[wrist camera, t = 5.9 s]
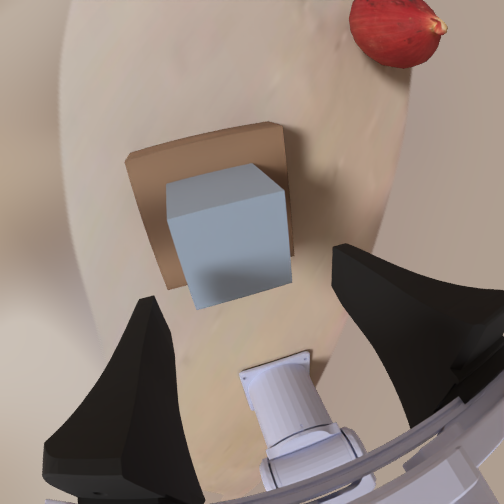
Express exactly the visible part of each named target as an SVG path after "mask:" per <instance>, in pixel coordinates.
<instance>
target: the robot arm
mask: <svg viewBox="0 0 504 504" xmlns="http://www.w3.org/2000/svg"><path fill="white" fill-rule="evenodd" d="M331 286H332V288H333V290H334V292H335V293H336V295H337V297H338V299H339V301H340V302H341V304H342V306H343V307H344V308H345V310H346V311H347V312H348V314H349V315H350V316H351V318H352V319H353V320H354V322H355V323H356V324H357V325H358V327H359V328H360V330H361V331H362V332H363V333H364V335H365V336H366V338H367V339H368V340H369V342H370V343H371V345H372V346H373V348H374V349H375V351H376V353H377V354H378V356H379V358H380V360H381V361H382V363H383V365H384V367H385V369H386V371H387V373H388V375H389V377H390V379H391V381H392V383H393V385H394V387H395V389H396V392H397V394H398V396H399V399H400V401H401V403H402V406H403V408H404V411H405V414H406V417H407V420H408V423H409V426H410V428H411V429H410V430H408V431H407V432H405V433H403V434H402V435H400V436H398V437H397V438H395V439H393V440H391V441H389V442H388V443H386V444H384V445H382V446H380V447H378V448H376V449H374V450H373V451H371V452H369V453H367V452H366V449H365V448H364V445H363V443H362V442H361V440H360V438H359V437H358V435H357V434H356V433H355V431H353V430H352V429H349V428H347V427H343V428H341V429H340V428H339V426H338V424H337V423H336V422H335V423H333V422H332V420H331V418H330V416H329V414H328V412H327V410H326V408H325V406H324V404H323V402H322V400H321V398H320V396H319V394H318V392H317V390H316V388H315V386H314V384H313V382H312V380H311V378H310V376H309V372H310V353H309V352H308V351H304V352H301V353H298V354H295V355H292V356H290V357H287V358H283V359H280V360H277V361H274V362H271V363H268V364H265V365H261V366H258V367H255V368H251V369H248V370H244V371H241V372H240V373H239V376H240V379H241V382H242V385H243V388H244V391H245V394H246V397H247V400H248V403H249V406H250V409H251V410H252V411H254V410H255V413H256V416H257V419H258V422H259V425H260V427H261V430H262V433H263V436H264V439H265V442H266V444H267V447H268V449H266V453H267V456H268V457H267V458H264V459H262V462H261V464H260V474H261V478H262V481H263V484H264V486H265V489H266V491H267V492H263V493H259V494H255V495H251V496H247V497H242V498H238V499H233V500H228V501H223V502H217V503H212V504H299V503H302V502H305V501H308V500H310V499H313V498H316V497H318V496H321V495H324V494H326V493H329V492H331V491H333V490H336V489H338V488H340V487H343V486H345V485H348V484H349V483H352V482H353V483H352V484H351V485H349V486H348V487H346V488H344V489H342V490H339V491H337V492H334V493H332V494H330V495H328V496H325V497H323V498H320V499H317V500H314V501H312V502H309V503H306V504H499V503H498V501H497V499H496V497H495V496H494V494H493V492H492V490H491V489H490V487H489V485H488V484H487V482H486V480H485V479H484V477H483V476H482V474H481V472H480V471H479V469H478V467H479V466H480V465H481V464H482V463H483V461H485V460H486V459H487V458H488V456H489V455H490V454H491V453H492V452H493V451H494V450H495V449H496V448H497V447H498V446H499V444H500V443H501V442H502V441H503V440H504V336H503V333H504V290H494V289H480V288H473V287H466V286H460V285H455V284H451V283H447V282H442V281H439V280H435V279H432V278H429V277H426V276H423V275H420V274H417V273H414V272H412V271H409V270H407V269H404V268H401V267H399V266H397V265H394V264H392V263H390V262H387V261H385V260H383V259H381V258H378V257H376V256H374V255H372V254H370V253H368V252H365V251H363V250H361V249H359V248H357V247H354V246H352V245H349V244H346V243H345V244H341V245H338V246H334V247H333V256H332V285H331ZM437 433H438V435H437V437H436V438H434V439H433V440H432V441H430V442H429V443H428V444H427V445H425V446H424V447H422V448H421V449H420V450H419V452H418V453H417V454H415V455H414V456H413V457H412V458H411V459H409V460H408V461H407V462H405V463H404V464H403V468H404V469H405V471H406V473H404V474H403V475H401V476H399V477H397V478H396V479H394V480H392V481H390V482H388V483H387V484H385V485H383V486H381V487H379V488H377V489H375V490H374V488H375V486H376V483H375V481H376V478H375V475H374V473H373V472H375V471H377V470H378V469H380V468H382V467H384V466H386V465H388V464H390V463H391V462H393V461H395V460H397V459H398V458H400V457H402V456H403V455H405V454H407V453H408V452H410V451H412V450H413V449H415V448H416V447H418V446H420V445H421V444H423V443H424V442H426V441H427V440H428V439H430V438H432V437H433V436H434V435H436V434H437ZM42 476H43V479H44V480H45V481H46V482H47V483H49V484H50V485H52V486H54V487H56V488H58V489H60V490H62V491H64V492H66V493H69V494H71V495H74V496H76V497H78V504H204V502H205V498H204V495H203V492H202V490H201V487H200V484H199V482H198V479H197V476H196V473H195V470H194V467H193V463H192V460H191V457H190V453H189V450H188V446H187V442H186V438H185V434H184V430H183V426H182V421H181V417H180V411H179V404H178V394H177V380H176V366H175V353H174V347H173V342H172V336H171V332H170V329H169V327H168V325H167V323H166V321H165V319H164V317H163V314H162V312H161V310H160V308H159V305H158V303H157V301H156V299H155V296H150V297H146V298H142V299H139V301H138V303H137V305H136V307H135V309H134V311H133V313H132V316H131V318H130V320H129V322H128V325H127V327H126V329H125V331H124V333H123V335H122V337H121V340H120V342H119V344H118V346H117V348H116V350H115V351H114V353H113V355H112V357H111V359H110V361H109V363H108V365H107V366H106V368H105V370H104V371H103V373H102V375H101V376H100V378H99V379H98V381H97V382H96V384H95V385H94V387H93V388H92V390H91V391H90V392H89V394H88V395H87V396H86V398H85V399H84V400H83V402H82V403H81V405H80V406H79V407H78V408H77V409H76V410H75V412H74V413H73V414H72V415H71V416H70V417H69V419H68V420H67V421H66V422H65V423H64V424H63V425H62V426H61V427H60V428H59V429H58V430H57V431H56V432H55V433H54V434H53V435H52V436H51V437H50V438H49V439H48V440H47V441H46V442H45V443H44V452H43V471H42ZM45 504H75V503H71V502H64V501H57V500H50V499H46V500H45Z"/></svg>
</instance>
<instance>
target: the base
mask: <svg viewBox="0 0 504 504" xmlns="http://www.w3.org/2000/svg"><path fill="white" fill-rule="evenodd" d="M250 163H253V164H254V165H255V166H256V167H257V168H259V169H260V170H261V171H262V172H263V173H265V174H266V175H267V176H268V177H269V178H270V179H272V180H273V181H274V182H275V183H276V184H277V185H279V186H280V187H281V188H282V189H283V190H284V191H285V202H286V212H287V223H288V235H289V247H290V257H292V256H294V246H293V232H292V219H291V207H290V196H289V185H288V174H287V164H286V154H285V145H284V136H283V127H282V126H281V125H278V124H275V123H272V122H269V121H268V122H262V123H255V124H249V125H244V126H238V127H233V128H228V129H222V130H218V131H213V132H208V133H204V134H199V135H195V136H190V137H186V138H182V139H178V140H174V141H170V142H167V143H163V144H159V145H155V146H152V147H148V148H145V149H142V150H138V151H135V152H132V153H130V154H129V156H128V157H127V159H126V160H125V165H126V168H127V172H128V175H129V179H130V182H131V186H132V189H133V192H134V195H135V199H136V202H137V205H138V208H139V211H140V214H141V217H142V220H143V223H144V226H145V229H146V232H147V235H148V238H149V241H150V244H151V247H152V249H153V252H154V255H155V258H156V260H157V263H158V266H159V268H160V271H161V274H162V276H163V279H164V281H165V284H166V286H167V289H168V290H170V289H174V288H178V287H182V286H185V285H188V284H187V281H186V278H185V275H184V272H183V269H182V266H181V263H180V260H179V257H178V254H177V251H176V248H175V245H174V242H173V238H172V235H171V232H170V229H169V225H168V222H167V207H166V184H167V183H171V182H175V181H179V180H182V179H186V178H190V177H194V176H198V175H202V174H206V173H210V172H214V171H219V170H223V169H227V168H232V167H236V166H241V165H246V164H250Z"/></svg>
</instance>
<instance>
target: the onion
mask: <svg viewBox="0 0 504 504" xmlns="http://www.w3.org/2000/svg"><path fill="white" fill-rule="evenodd" d="M349 22H350V30H351V33H352V35H353V37H354V40H355V42H356V44H357V45H358V46H359V47H360V48H361V49H362V51H363V52H364V53H365V54H367V55H368V56H369V57H371V58H372V59H374V60H375V61H377V62H378V63H380V64H381V65H385V66H391V67H397V68H403V69H404V68H409V67H413V66H416V65H419V64H422V63H424V62H426V61H427V60H428V59H429V58H430V57H431V56H432V55H433V54H434V52H435V51H436V49H437V47H438V45H439V42H440V39H441V35H444V34H445V33H447V29H448V27H447V25H446V24H445V23H444V22H443V21H442V20H441V19H439V17H437V16H436V15H435V13H434V11H433V10H432V9H431V8H430V7H429V6H428V5H427V4H426V3H425V2H424V1H423V0H354V1H353V3H352V8H351V12H350V16H349Z"/></svg>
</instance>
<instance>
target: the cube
mask: <svg viewBox="0 0 504 504" xmlns="http://www.w3.org/2000/svg"><path fill="white" fill-rule="evenodd" d="M166 207H167V222H168V225H169V229H170V232H171V235H172V238H173V242H174V245H175V248H176V251H177V254H178V257H179V260H180V263H181V266H182V269H183V272H184V275H185V278H186V281H187V284H188V287H189V290H190V293H191V296H192V299H193V301H194V304H195V307H196V310H199V309H203V308H206V307H210V306H213V305H217V304H221V303H224V302H228V301H231V300H235V299H238V298H242V297H245V296H249V295H252V294H256V293H259V292H262V291H266V290H269V289H273V288H276V287H279V286H282V285H286V284H289V283H292V273H291V260H290V247H289V235H288V223H287V212H286V202H285V191H284V190H283V189H282V188H281V187H280V186H279V185H277V184H276V183H275V182H274V181H273V180H272V179H270V178H269V177H268V176H267V175H266V174H265V173H263V172H262V171H261V170H260V169H259V168H257V167H256V166H255V165H254V164H253V163H250V164H246V165H241V166H236V167H232V168H227V169H223V170H219V171H214V172H210V173H206V174H202V175H198V176H194V177H190V178H186V179H182V180H179V181H175V182H171V183H167V184H166Z"/></svg>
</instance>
